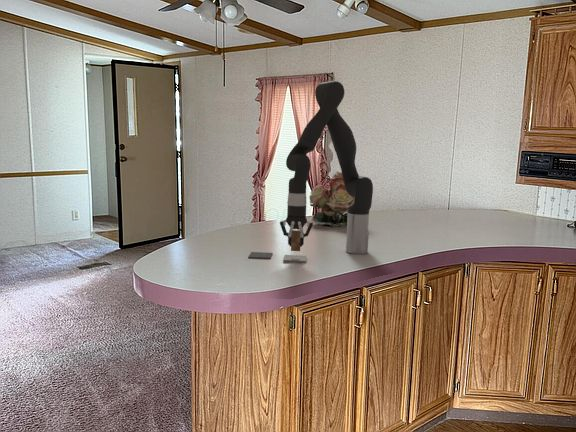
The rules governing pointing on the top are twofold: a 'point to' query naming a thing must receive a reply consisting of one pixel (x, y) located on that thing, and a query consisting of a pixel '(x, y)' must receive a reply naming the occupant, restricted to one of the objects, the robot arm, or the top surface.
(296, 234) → the block
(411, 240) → the top surface
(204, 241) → the top surface
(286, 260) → the tile
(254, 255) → the mat
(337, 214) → the rose bouquet
